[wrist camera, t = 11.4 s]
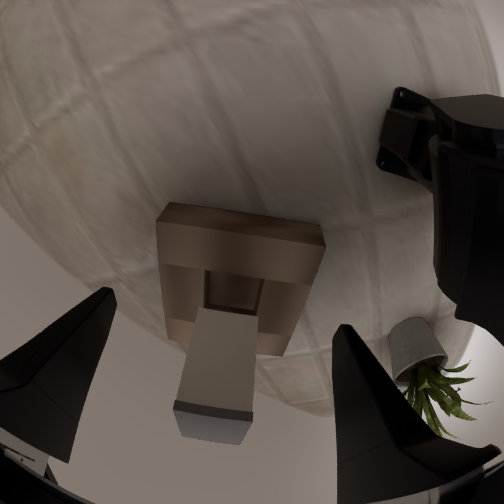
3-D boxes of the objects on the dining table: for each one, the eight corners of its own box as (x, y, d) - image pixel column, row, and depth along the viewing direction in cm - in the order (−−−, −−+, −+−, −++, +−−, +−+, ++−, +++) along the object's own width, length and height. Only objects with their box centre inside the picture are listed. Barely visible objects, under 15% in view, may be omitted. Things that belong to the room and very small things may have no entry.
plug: (259, 316, 18) (252, 421, 12) (247, 361, 21) (239, 445, 15) (198, 307, 18) (172, 409, 12) (198, 354, 21) (182, 436, 15)
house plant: (352, 375, 35) (364, 478, 21) (336, 321, 28) (355, 471, 14) (440, 345, 31) (470, 441, 17) (452, 280, 24) (511, 408, 10)
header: (319, 225, 21) (326, 246, 19) (282, 334, 29) (282, 356, 27) (169, 202, 21) (155, 221, 18) (174, 317, 29) (168, 339, 26)
